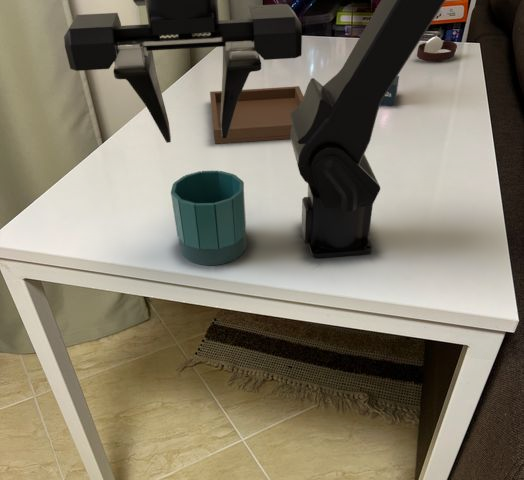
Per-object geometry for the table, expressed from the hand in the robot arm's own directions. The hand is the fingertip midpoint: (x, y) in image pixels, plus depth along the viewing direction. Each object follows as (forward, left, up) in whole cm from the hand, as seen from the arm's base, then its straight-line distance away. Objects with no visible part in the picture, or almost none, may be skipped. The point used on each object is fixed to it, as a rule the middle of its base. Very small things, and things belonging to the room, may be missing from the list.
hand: (196, 138), depth 51 cm
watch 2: (-45, -59, -12) cm, 75 cm away
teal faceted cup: (+1, -3, -8) cm, 9 cm away
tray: (-9, -35, -12) cm, 38 cm away
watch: (-29, -40, -12) cm, 51 cm away
